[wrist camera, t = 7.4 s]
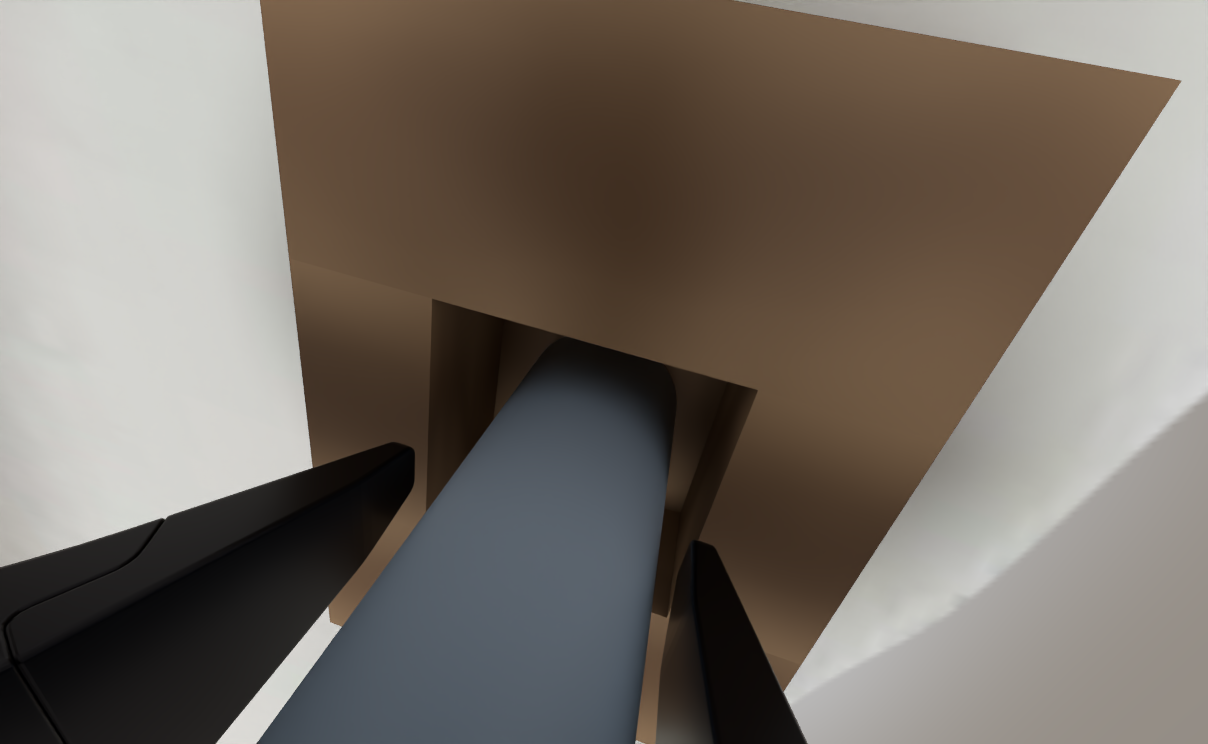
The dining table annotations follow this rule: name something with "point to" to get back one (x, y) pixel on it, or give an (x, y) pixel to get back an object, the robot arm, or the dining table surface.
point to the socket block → (680, 250)
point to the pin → (515, 578)
